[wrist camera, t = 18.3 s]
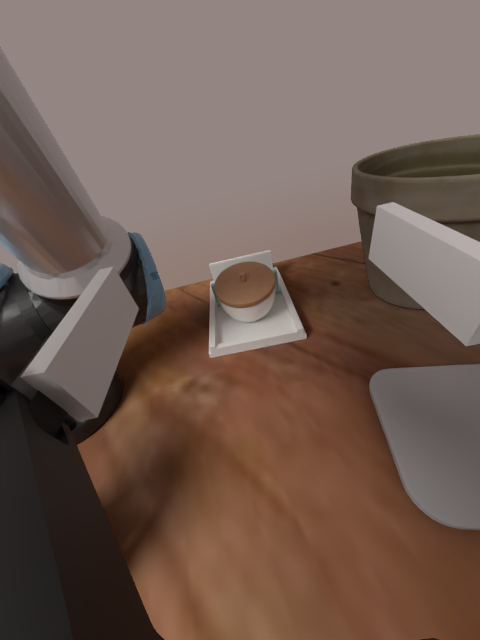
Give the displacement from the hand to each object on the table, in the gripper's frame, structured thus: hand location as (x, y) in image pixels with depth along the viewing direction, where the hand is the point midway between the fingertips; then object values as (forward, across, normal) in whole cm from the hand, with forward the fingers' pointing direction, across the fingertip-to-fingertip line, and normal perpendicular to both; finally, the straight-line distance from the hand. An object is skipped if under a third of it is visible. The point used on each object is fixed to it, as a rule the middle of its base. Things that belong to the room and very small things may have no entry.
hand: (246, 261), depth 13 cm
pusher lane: (+28, 0, -26) cm, 38 cm away
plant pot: (+25, +31, -26) cm, 47 cm away
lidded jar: (+26, 0, -24) cm, 36 cm away
